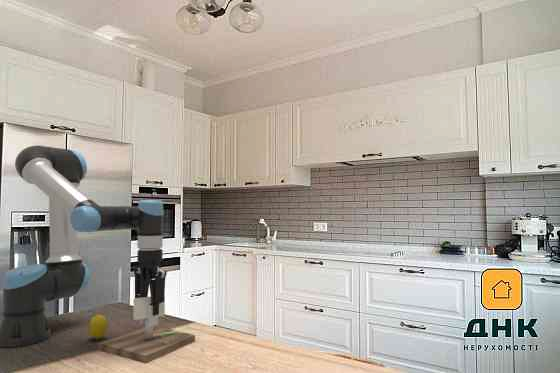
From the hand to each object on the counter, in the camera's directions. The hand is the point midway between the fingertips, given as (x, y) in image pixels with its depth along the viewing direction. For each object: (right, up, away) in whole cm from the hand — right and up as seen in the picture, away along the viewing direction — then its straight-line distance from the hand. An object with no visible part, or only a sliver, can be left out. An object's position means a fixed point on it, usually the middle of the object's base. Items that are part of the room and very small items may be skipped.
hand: (148, 324), depth 121 cm
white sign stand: (+2, -4, +1) cm, 5 cm away
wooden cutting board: (0, -7, 0) cm, 7 cm away
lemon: (-18, -7, +5) cm, 21 cm away
